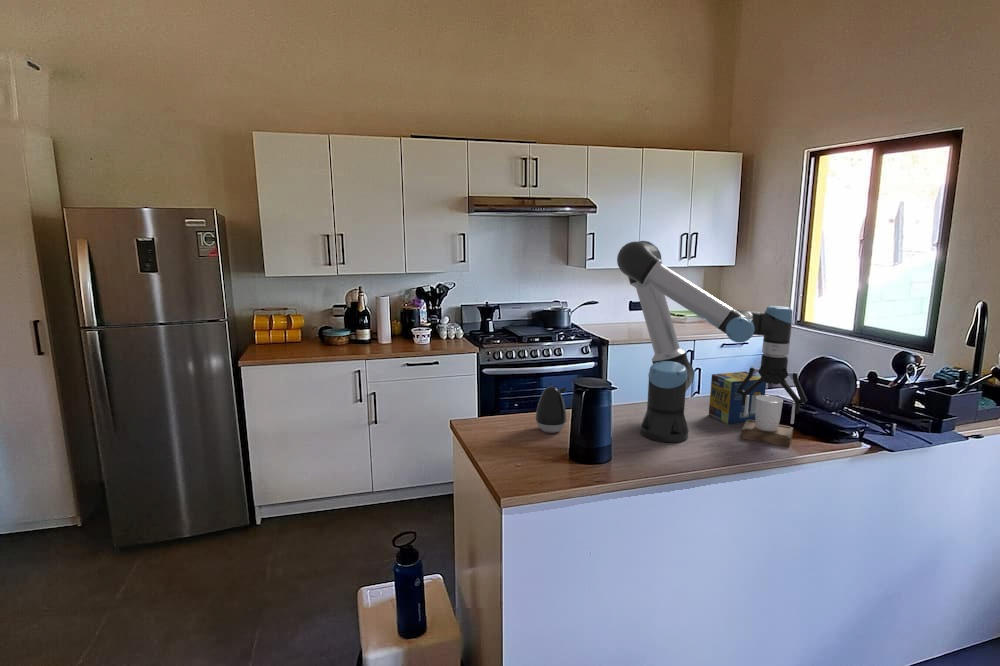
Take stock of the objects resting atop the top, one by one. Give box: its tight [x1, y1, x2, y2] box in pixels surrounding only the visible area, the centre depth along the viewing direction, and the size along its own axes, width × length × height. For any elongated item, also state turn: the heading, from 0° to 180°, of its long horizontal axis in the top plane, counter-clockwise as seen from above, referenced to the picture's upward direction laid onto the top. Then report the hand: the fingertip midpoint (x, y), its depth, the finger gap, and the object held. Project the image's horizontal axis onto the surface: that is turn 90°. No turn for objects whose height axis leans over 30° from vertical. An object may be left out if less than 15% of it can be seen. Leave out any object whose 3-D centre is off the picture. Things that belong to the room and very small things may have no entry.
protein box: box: [708, 371, 767, 425], centre depth 196 cm, size 10×15×16 cm
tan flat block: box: [740, 420, 794, 448], centre depth 178 cm, size 14×11×3 cm
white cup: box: [755, 394, 784, 432], centre depth 177 cm, size 8×8×10 cm
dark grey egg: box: [535, 385, 567, 434], centre depth 182 cm, size 10×10×15 cm
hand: (768, 418), depth 177 cm, fingers open, 13 cm apart
